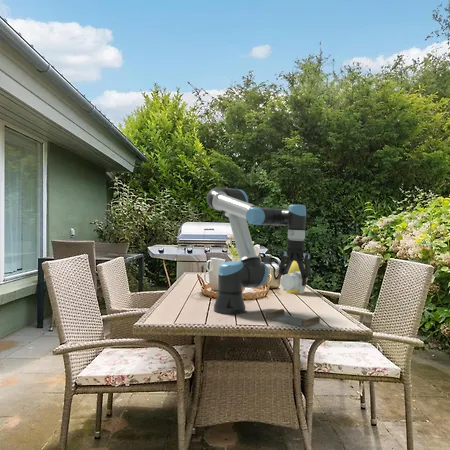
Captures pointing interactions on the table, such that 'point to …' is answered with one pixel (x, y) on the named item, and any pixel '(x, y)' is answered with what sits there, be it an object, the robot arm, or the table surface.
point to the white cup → (291, 281)
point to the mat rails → (304, 322)
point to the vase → (294, 268)
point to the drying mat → (290, 320)
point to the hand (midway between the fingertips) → (293, 291)
